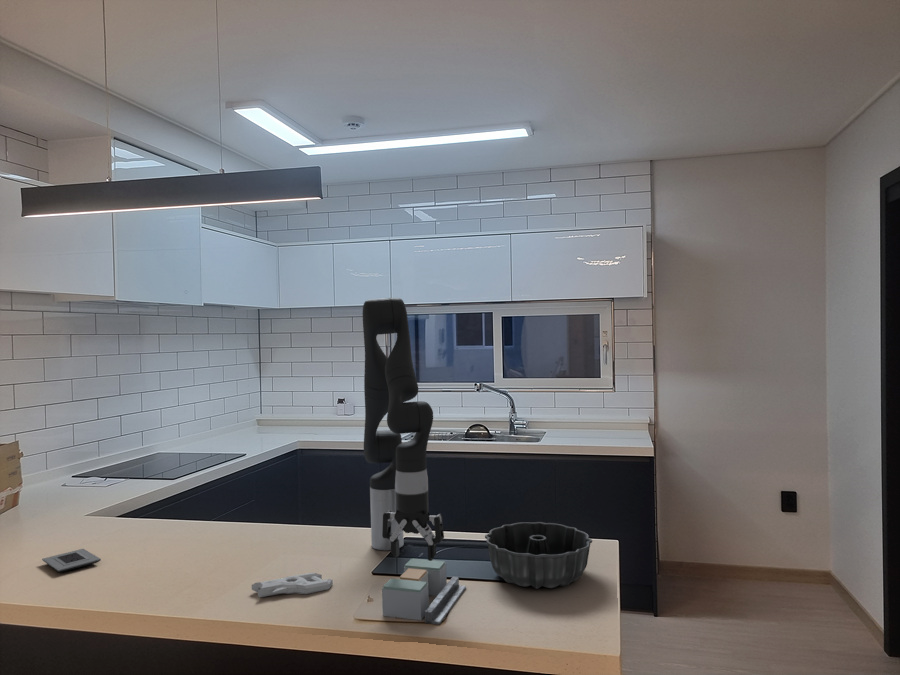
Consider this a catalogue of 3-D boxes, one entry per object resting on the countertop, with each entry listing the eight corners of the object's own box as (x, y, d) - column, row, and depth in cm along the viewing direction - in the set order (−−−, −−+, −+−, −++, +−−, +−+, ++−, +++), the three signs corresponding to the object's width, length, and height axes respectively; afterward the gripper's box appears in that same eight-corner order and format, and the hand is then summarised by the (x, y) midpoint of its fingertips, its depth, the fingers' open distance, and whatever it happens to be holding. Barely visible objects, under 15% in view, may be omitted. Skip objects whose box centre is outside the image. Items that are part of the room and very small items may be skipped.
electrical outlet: (42, 566, 185) (41, 557, 185) (83, 555, 193) (83, 547, 193) (58, 578, 176) (58, 569, 176) (101, 566, 184) (100, 557, 184)
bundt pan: (567, 553, 184) (567, 517, 184) (611, 590, 158) (610, 548, 158) (474, 563, 179) (473, 525, 178) (503, 603, 153) (502, 560, 153)
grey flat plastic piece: (262, 591, 154) (250, 578, 163) (262, 606, 154) (250, 592, 163) (336, 577, 164) (321, 566, 173) (336, 592, 164) (321, 579, 172)
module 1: (408, 595, 159) (407, 567, 159) (428, 597, 157) (427, 569, 157) (399, 605, 153) (398, 577, 153) (419, 607, 152) (419, 579, 151)
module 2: (391, 606, 153) (390, 577, 152) (428, 610, 150) (428, 581, 150) (382, 615, 148) (381, 586, 148) (421, 620, 145) (420, 590, 145)
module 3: (411, 584, 165) (411, 558, 165) (446, 587, 162) (446, 561, 162) (404, 592, 160) (403, 565, 160) (440, 596, 157) (439, 568, 157)
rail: (453, 586, 163) (452, 576, 163) (465, 588, 162) (465, 577, 162) (425, 623, 144) (424, 611, 144) (439, 624, 143) (439, 613, 143)
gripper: (446, 486, 156) (447, 555, 157) (389, 482, 160) (391, 549, 161) (435, 495, 149) (437, 567, 149) (376, 491, 153) (378, 561, 154)
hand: (413, 557), depth 155 cm, fingers open, 8 cm apart
